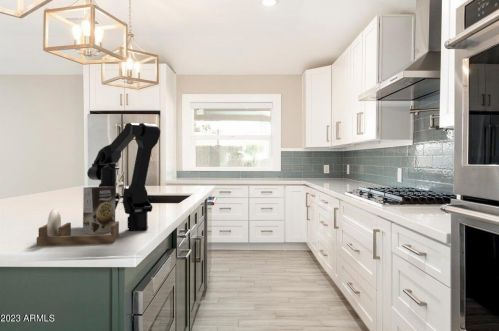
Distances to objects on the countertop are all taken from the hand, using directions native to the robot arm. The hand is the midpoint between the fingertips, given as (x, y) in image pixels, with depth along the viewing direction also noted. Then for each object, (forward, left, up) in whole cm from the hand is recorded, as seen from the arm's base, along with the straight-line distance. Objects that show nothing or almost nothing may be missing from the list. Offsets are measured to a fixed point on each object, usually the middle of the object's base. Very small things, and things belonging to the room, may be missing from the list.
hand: (108, 219), depth 144 cm
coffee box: (0, +16, -2) cm, 16 cm away
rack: (0, +30, -2) cm, 30 cm away
